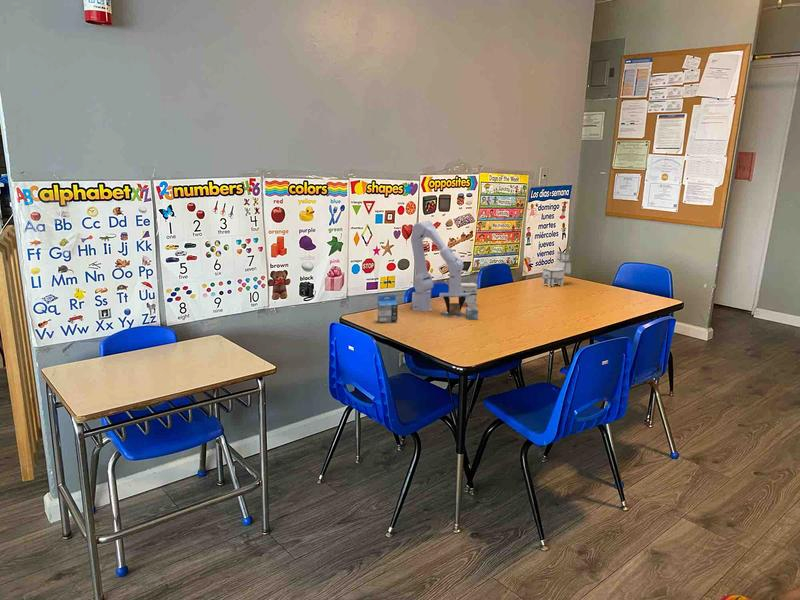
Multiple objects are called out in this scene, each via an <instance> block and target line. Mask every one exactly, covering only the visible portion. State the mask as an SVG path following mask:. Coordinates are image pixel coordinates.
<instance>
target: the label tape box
mask: <svg viewBox="0 0 800 600" xmlns="http://www.w3.org/2000/svg"><path fill="white" fill-rule="evenodd" d="M396 297H397V295H396V294H386V295H383V294H382V295H377V322H378V321H379V322H385V323H398V314H399V313H398V312H399V311H398V310H399V308H398V306H399V305H398V302H397V300H396V299H397V298H396ZM379 322H378V323H379Z"/></svg>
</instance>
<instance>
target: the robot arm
mask: <svg viewBox="0 0 800 600" xmlns="http://www.w3.org/2000/svg"><path fill="white" fill-rule="evenodd" d="M411 230H412V232H411V237H410V241H411V243H410V244H411V247H412V253H413V259H414V260H413V261H414V265H415V270H416V272H415V273H416V275H415V277H414V284H413V285H414V287H413V288H414V289H415V291H412V293H411V294H412V295H411V309H412V311H414V312H418V311H419V312H420V311H421V312H422V311H423V312H424V311H425V312H427V311H431V312H432V311H433V309H432V307H431V299H432V289H433V288H434V286H435V283H434V279H432V275H431V274H430V273H429V271H428V268H427V267H428V266H427V261H426V256H425V250H424V244H423V243H424V242H423V241H424V240H425V238H426V239H427V238H428V239H430V240H431V241H432V242H433V244H434V245H435V246H436V247H437V248H438V250H439V255H440V256H441V258H442V259H443V261H444V262H445V263H446V265H447V271H448V272H449V277H448V292H439V295H438V296H439V298H441V299H442V298H443V300H444V303H445V306H446V312H449V303H450V301H451V300H450V298H458V303H459V305H460V312H462V308H463V307H462V305H463V303H464V301H465V297H467V298H469V293H461V292H460V291H461V283H462V270H463V269H464V267H465V264H464V261H463V260H462V259H461V258H459V257H458V256H457V255H456V254H455V253H454V252H453V251H454V249H453V248H451V247H449V246H446V244H445V243H444V241H443V239H442V238H441V237H440V235H439V234H438V232H437V229H436V226H435V225H434V224H433V222H431V221H430V220H426V221H420V222H415V223H414V225H413V226H412V227H411Z"/></svg>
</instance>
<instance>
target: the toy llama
mask: <svg viewBox="0 0 800 600" xmlns="http://www.w3.org/2000/svg"><path fill="white" fill-rule="evenodd" d="M556 253H557V255H556V265H555V267H549V268H548V267H546V268H543V269H542V275H541V279H542V281H541V285H542V284H548V285H549V286H555V285H554V283H557V284H559V285H563V286H564V282H565V281H564V277H565V275H567V274H568V275H569V274H571V271H572V263H573V262H572V261H571V260H570V258H569V257H570V253H569V252H564V251H561V250H560V251H557V252H556ZM548 285H547V286H548Z"/></svg>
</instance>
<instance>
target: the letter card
mask: <svg viewBox="0 0 800 600" xmlns="http://www.w3.org/2000/svg"><path fill="white" fill-rule="evenodd" d="M441 313H442V314H443V316H444V317H445V318H466V317H465V316H466V315H465V314H464V313H463V311H460V316H449V314H448V312H447V311H441Z"/></svg>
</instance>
